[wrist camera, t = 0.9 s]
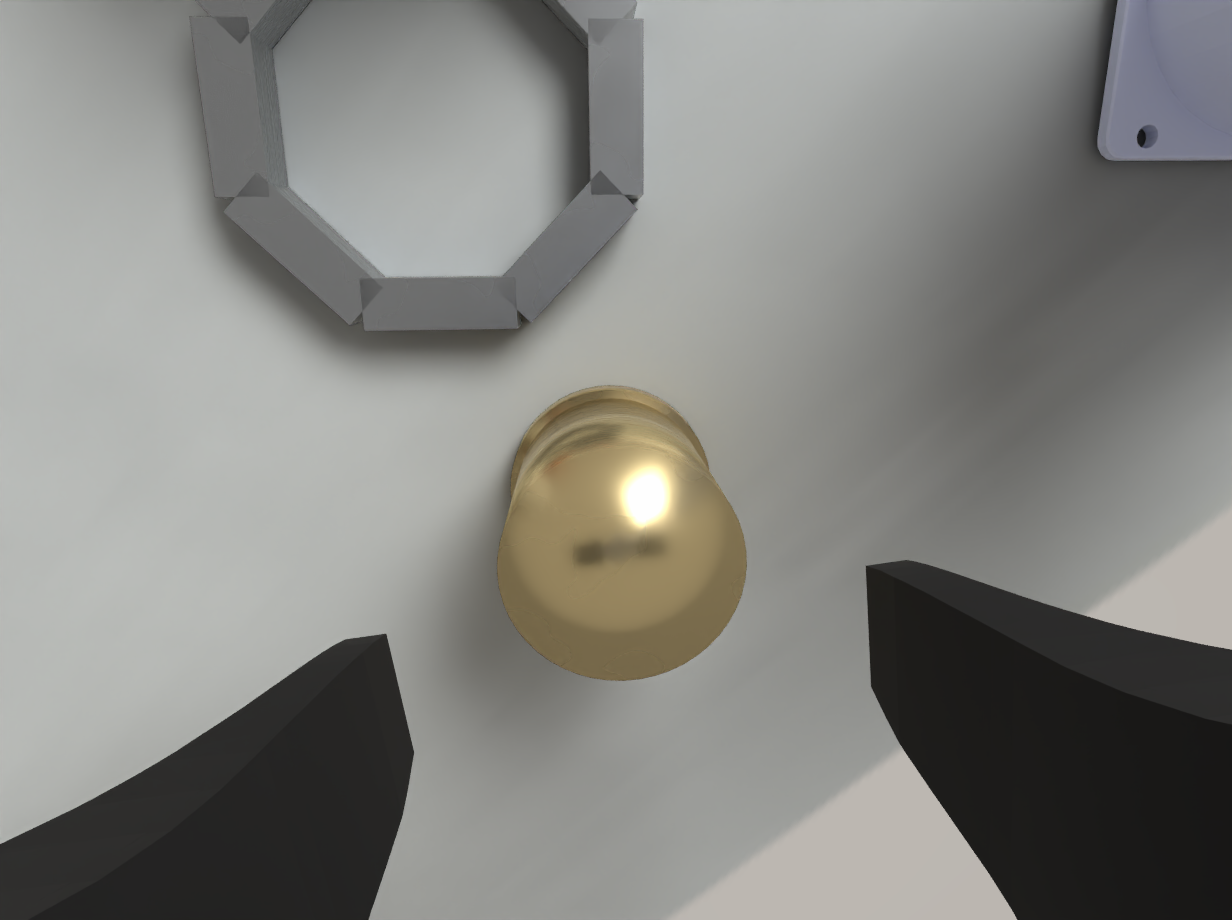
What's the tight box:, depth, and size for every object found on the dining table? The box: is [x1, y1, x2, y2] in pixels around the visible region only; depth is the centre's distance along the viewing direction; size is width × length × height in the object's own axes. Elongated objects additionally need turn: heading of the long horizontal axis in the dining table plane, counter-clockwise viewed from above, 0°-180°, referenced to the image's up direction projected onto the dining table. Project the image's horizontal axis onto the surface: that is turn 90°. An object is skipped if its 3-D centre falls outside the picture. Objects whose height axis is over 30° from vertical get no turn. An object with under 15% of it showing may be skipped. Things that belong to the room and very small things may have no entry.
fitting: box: [497, 385, 747, 681], centre depth 17 cm, size 5×5×6 cm
